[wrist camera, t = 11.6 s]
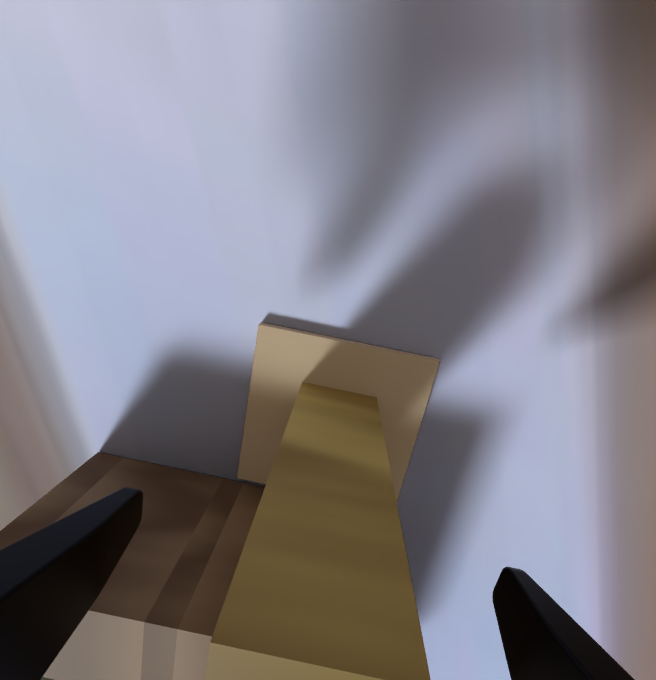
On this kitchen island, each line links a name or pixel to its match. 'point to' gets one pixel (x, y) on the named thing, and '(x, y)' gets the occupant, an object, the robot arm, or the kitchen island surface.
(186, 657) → the block
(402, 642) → the square wooden peg
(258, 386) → the pad
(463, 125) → the kitchen island surface
